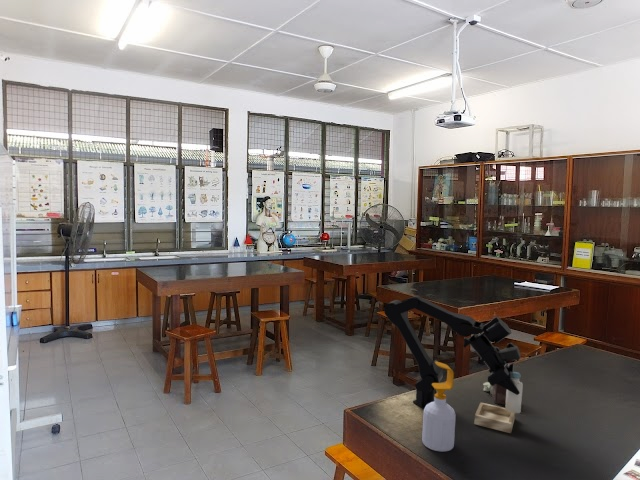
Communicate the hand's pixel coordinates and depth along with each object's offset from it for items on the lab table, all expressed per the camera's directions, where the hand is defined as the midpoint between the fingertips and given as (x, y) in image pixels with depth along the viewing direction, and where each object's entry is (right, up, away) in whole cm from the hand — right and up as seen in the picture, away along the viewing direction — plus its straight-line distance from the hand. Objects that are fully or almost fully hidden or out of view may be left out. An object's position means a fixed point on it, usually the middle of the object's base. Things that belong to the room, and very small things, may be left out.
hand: (519, 391), depth 144 cm
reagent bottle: (-2, -6, +1) cm, 7 cm away
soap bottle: (-29, -12, -11) cm, 33 cm away
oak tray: (-6, -11, +4) cm, 14 cm away
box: (+3, -10, +20) cm, 23 cm away
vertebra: (+1, -10, +27) cm, 29 cm away
